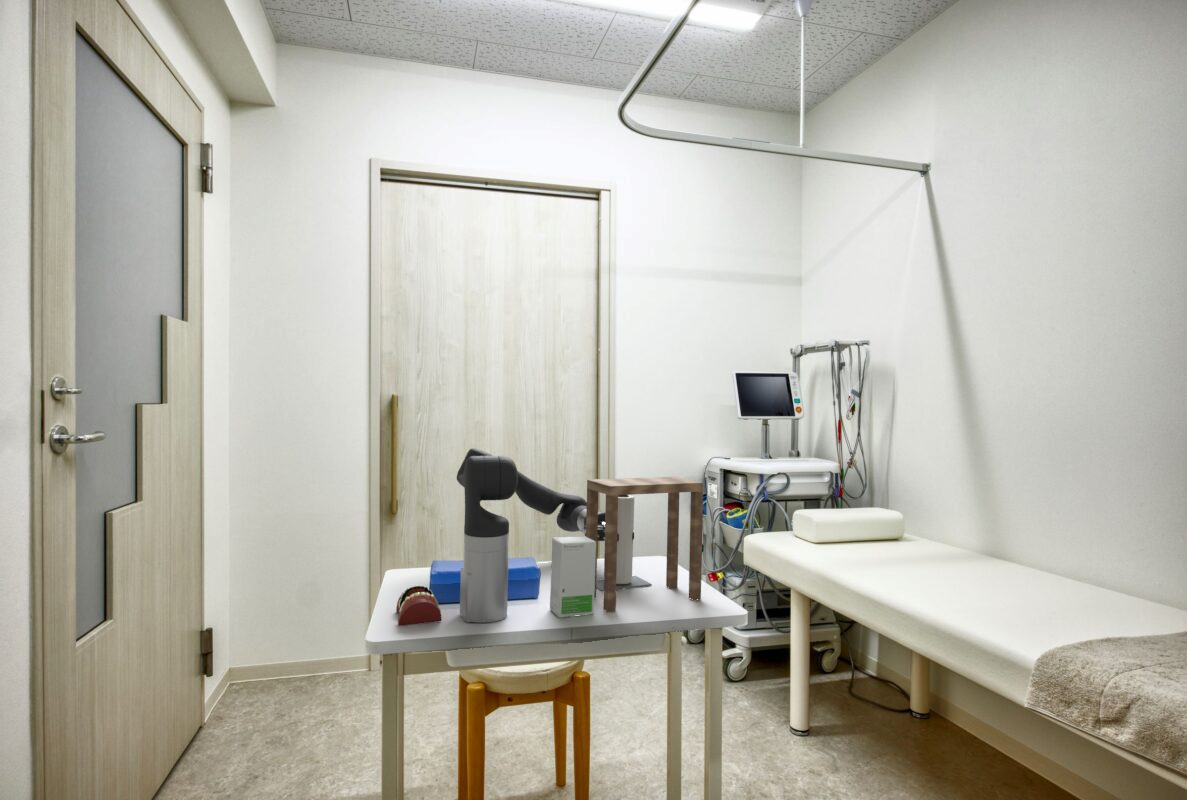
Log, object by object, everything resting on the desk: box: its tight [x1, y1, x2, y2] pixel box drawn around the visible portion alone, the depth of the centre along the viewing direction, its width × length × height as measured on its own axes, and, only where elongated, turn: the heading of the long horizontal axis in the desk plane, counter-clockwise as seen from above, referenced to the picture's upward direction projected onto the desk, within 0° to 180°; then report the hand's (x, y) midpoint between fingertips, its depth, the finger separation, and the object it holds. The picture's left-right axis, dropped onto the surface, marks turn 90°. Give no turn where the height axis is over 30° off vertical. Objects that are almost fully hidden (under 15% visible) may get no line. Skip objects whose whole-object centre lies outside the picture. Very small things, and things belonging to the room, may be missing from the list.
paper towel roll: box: [616, 495, 635, 584], centre depth 157 cm, size 7×6×21 cm
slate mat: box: [596, 575, 652, 592], centre depth 157 cm, size 14×8×1 cm, turn 115°
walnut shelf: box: [585, 476, 704, 613], centre depth 146 cm, size 24×12×27 cm, turn 115°
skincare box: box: [549, 536, 596, 618], centre depth 136 cm, size 8×7×16 cm
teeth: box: [395, 585, 442, 627], centre depth 130 cm, size 8×6×12 cm
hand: (625, 537), depth 155 cm, fingers closed on paper towel roll, 3 cm apart
